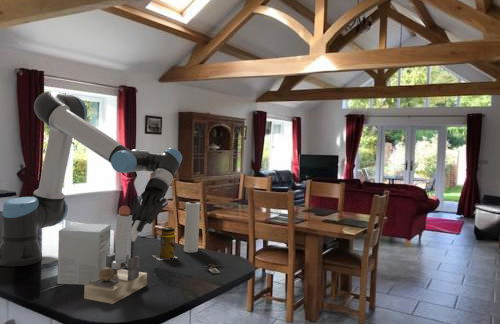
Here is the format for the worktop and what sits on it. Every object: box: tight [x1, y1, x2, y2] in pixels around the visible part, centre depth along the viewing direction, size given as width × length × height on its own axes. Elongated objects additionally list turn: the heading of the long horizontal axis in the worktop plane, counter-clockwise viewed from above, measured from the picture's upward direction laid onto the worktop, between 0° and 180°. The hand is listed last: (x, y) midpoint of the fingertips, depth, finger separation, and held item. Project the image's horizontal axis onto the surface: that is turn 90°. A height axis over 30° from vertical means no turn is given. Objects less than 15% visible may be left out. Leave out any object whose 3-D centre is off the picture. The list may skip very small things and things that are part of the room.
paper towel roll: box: [183, 201, 201, 254], centre depth 185 cm, size 7×6×21 cm
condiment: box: [151, 226, 178, 261], centre depth 174 cm, size 7×8×12 cm
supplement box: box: [57, 222, 112, 286], centre depth 143 cm, size 13×13×18 cm
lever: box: [112, 205, 133, 271], centre depth 133 cm, size 5×6×19 cm
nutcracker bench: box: [83, 252, 148, 305], centre depth 132 cm, size 18×10×10 cm, turn 162°
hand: (131, 238), depth 138 cm, fingers closed
